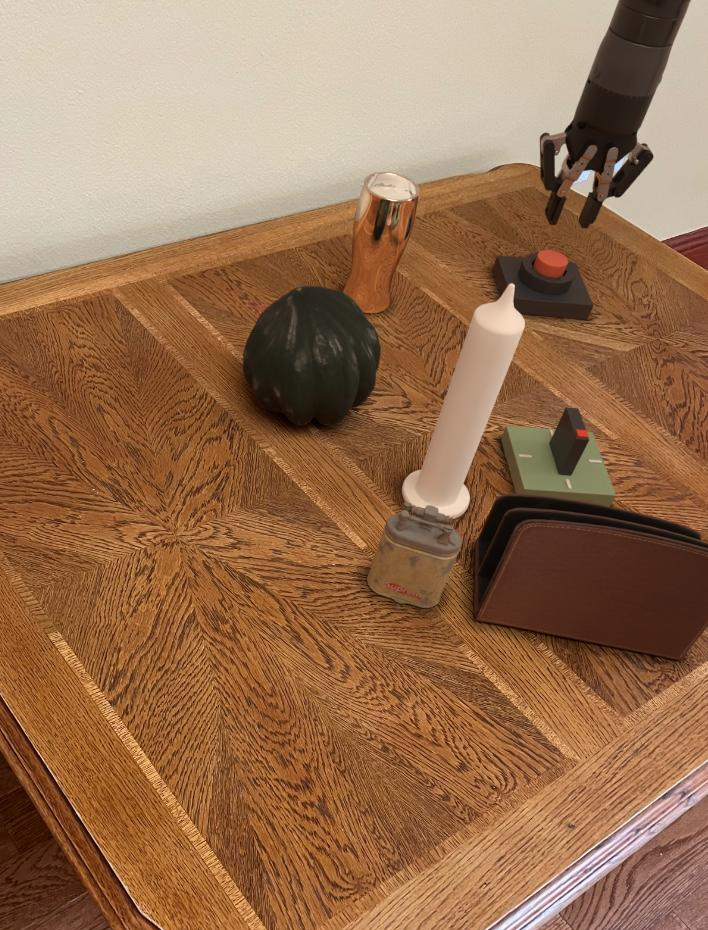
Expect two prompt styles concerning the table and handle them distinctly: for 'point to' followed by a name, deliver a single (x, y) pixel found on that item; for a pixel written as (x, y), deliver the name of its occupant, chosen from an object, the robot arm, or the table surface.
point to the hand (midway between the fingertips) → (566, 222)
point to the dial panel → (554, 468)
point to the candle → (467, 407)
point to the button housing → (543, 288)
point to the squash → (312, 356)
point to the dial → (569, 441)
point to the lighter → (414, 556)
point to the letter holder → (592, 574)
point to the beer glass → (380, 237)
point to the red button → (550, 263)
